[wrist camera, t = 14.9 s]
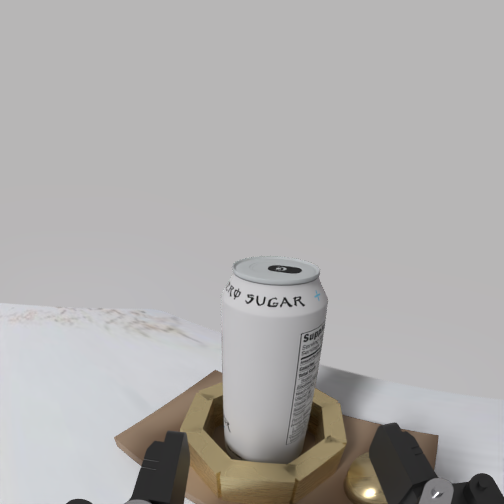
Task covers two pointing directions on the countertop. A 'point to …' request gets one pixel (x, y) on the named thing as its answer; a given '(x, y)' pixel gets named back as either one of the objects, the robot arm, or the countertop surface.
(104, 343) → the countertop surface
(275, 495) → the brass socket ring
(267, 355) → the energy drink can
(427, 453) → the walnut carrier plate
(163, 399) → the countertop surface
